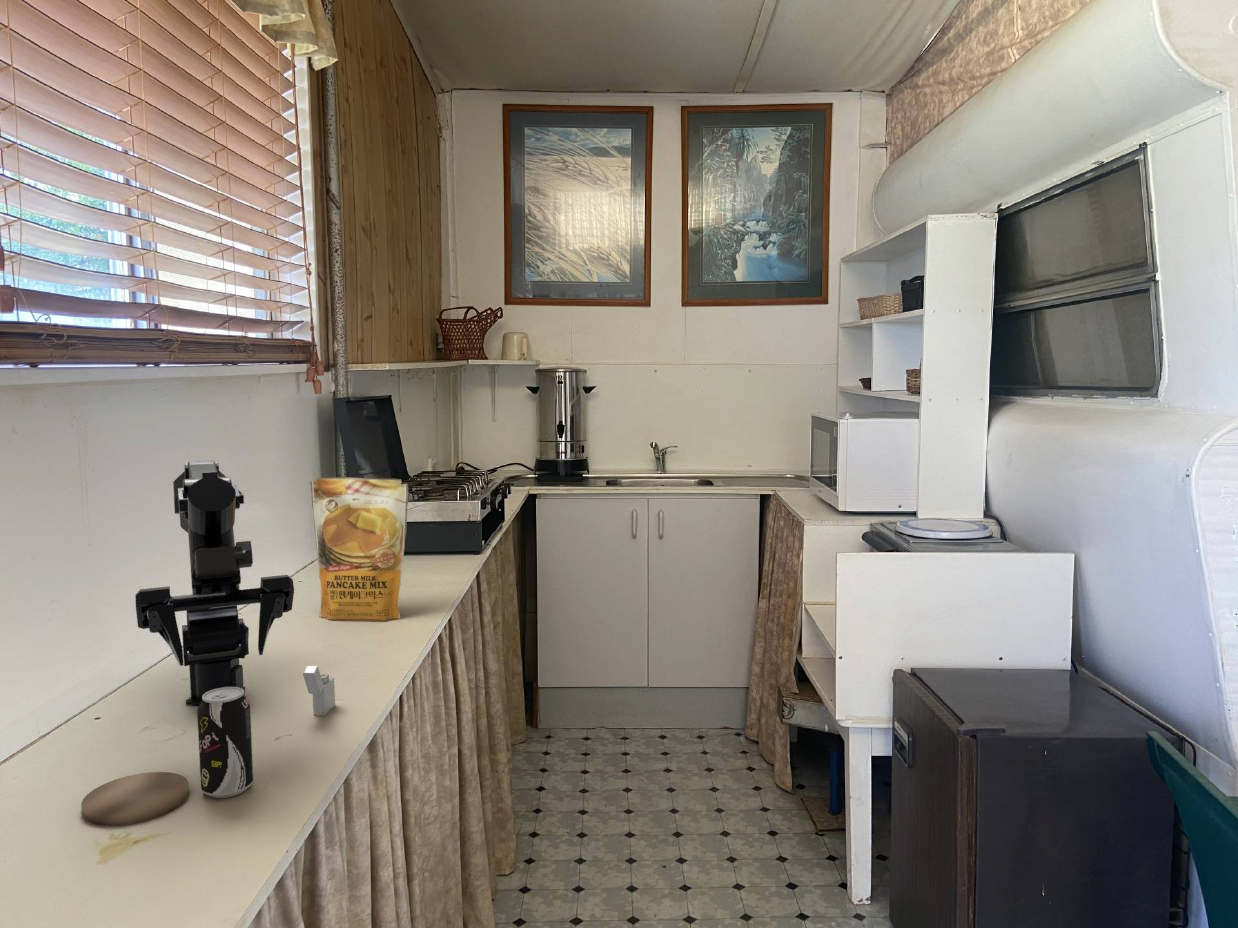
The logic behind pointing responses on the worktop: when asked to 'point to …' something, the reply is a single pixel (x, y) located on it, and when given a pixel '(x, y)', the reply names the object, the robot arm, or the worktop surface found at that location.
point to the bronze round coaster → (135, 798)
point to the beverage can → (225, 742)
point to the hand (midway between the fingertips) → (222, 658)
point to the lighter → (320, 690)
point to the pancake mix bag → (360, 546)
